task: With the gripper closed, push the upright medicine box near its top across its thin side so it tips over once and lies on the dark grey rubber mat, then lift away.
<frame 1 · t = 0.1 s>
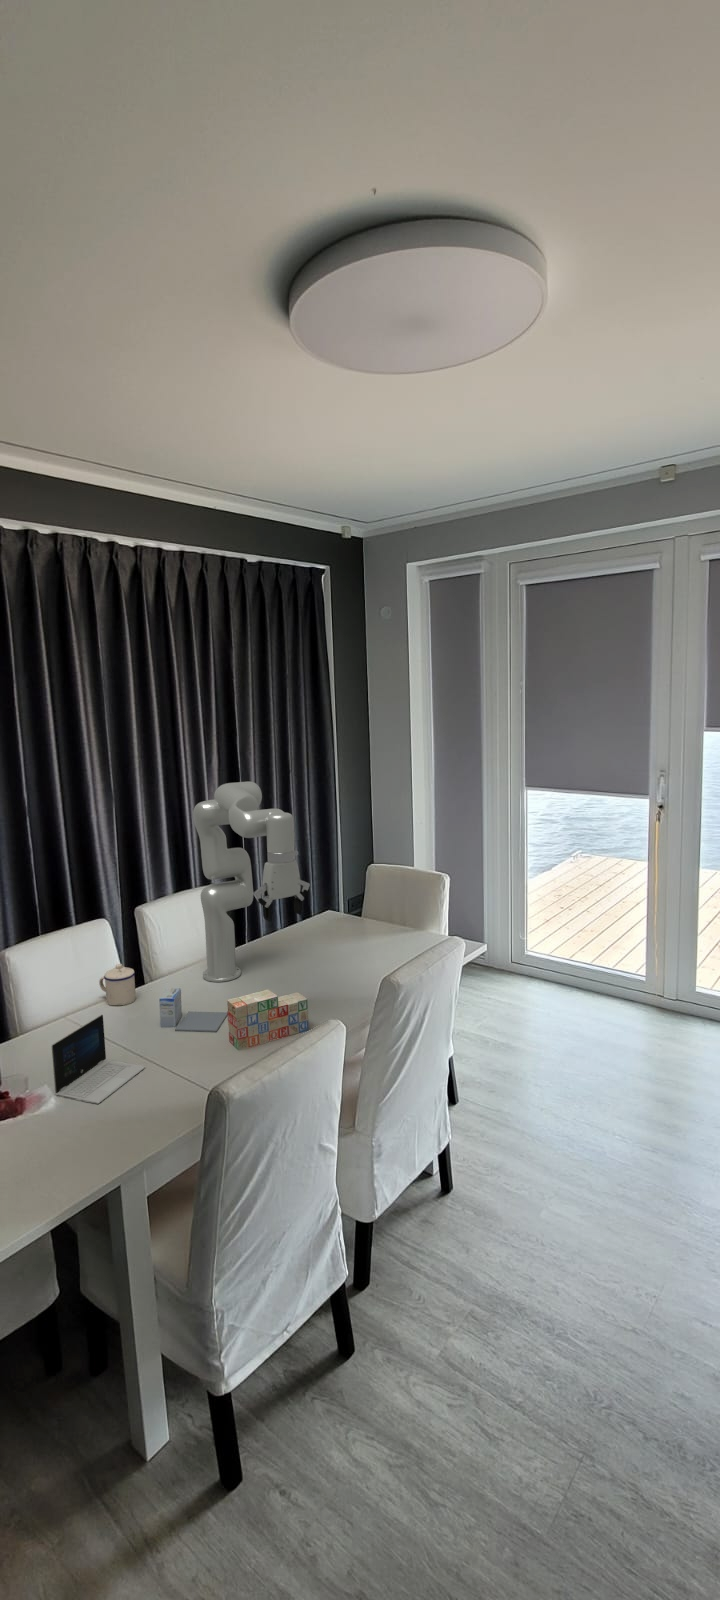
hand: (283, 916, 208), 31 cm above the table, tool pointing down, fingers open, 9 cm apart
medicine box: (171, 1022, 215), on the table
laptop: (102, 1083, 182), on the table
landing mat: (202, 1022, 214), on the table
teacup with lid: (117, 1000, 231), on the table
stack of blocks: (269, 1037, 204), on the table
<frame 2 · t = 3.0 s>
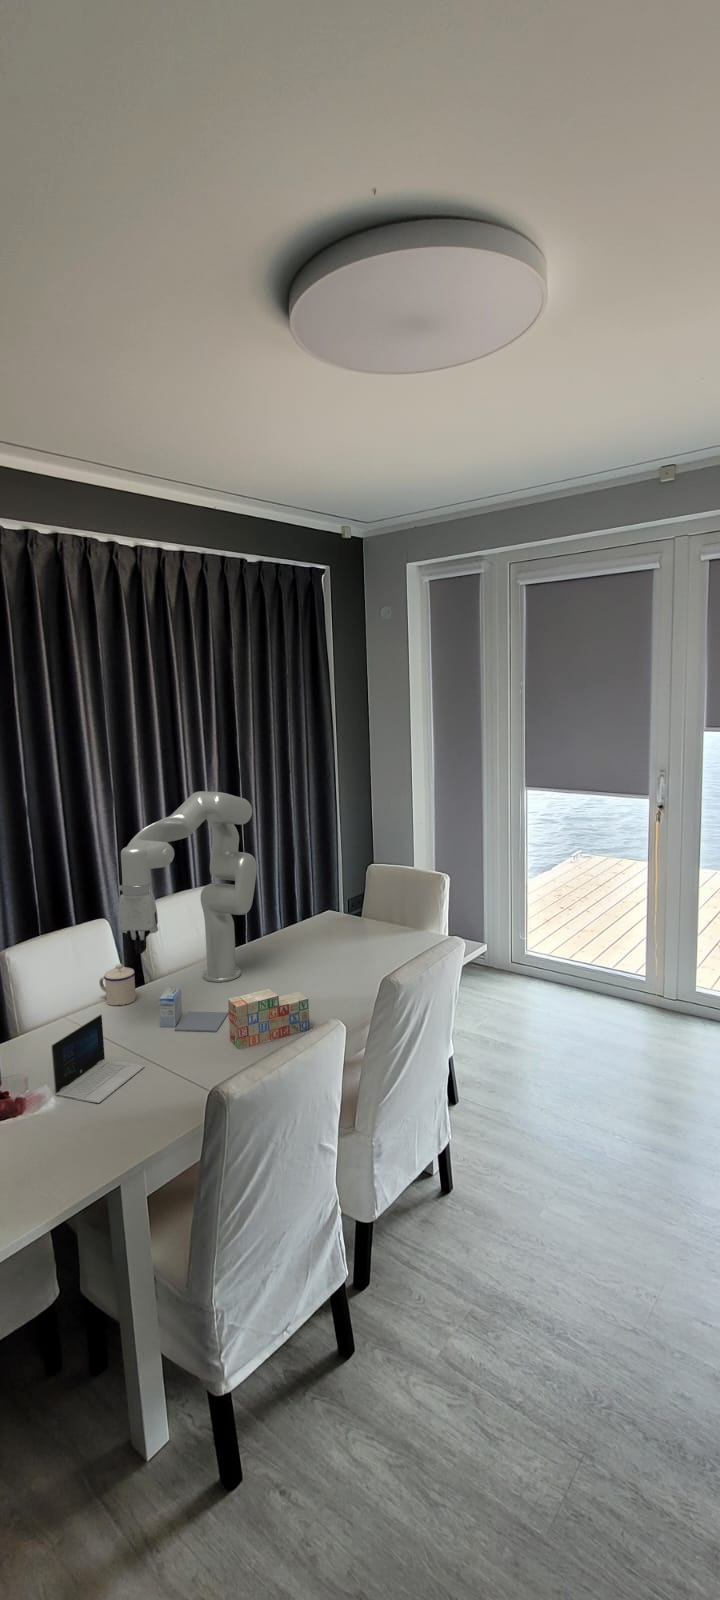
hand: (140, 951, 212), 21 cm above the table, tool pointing down, fingers closed
nothing on the table moved.
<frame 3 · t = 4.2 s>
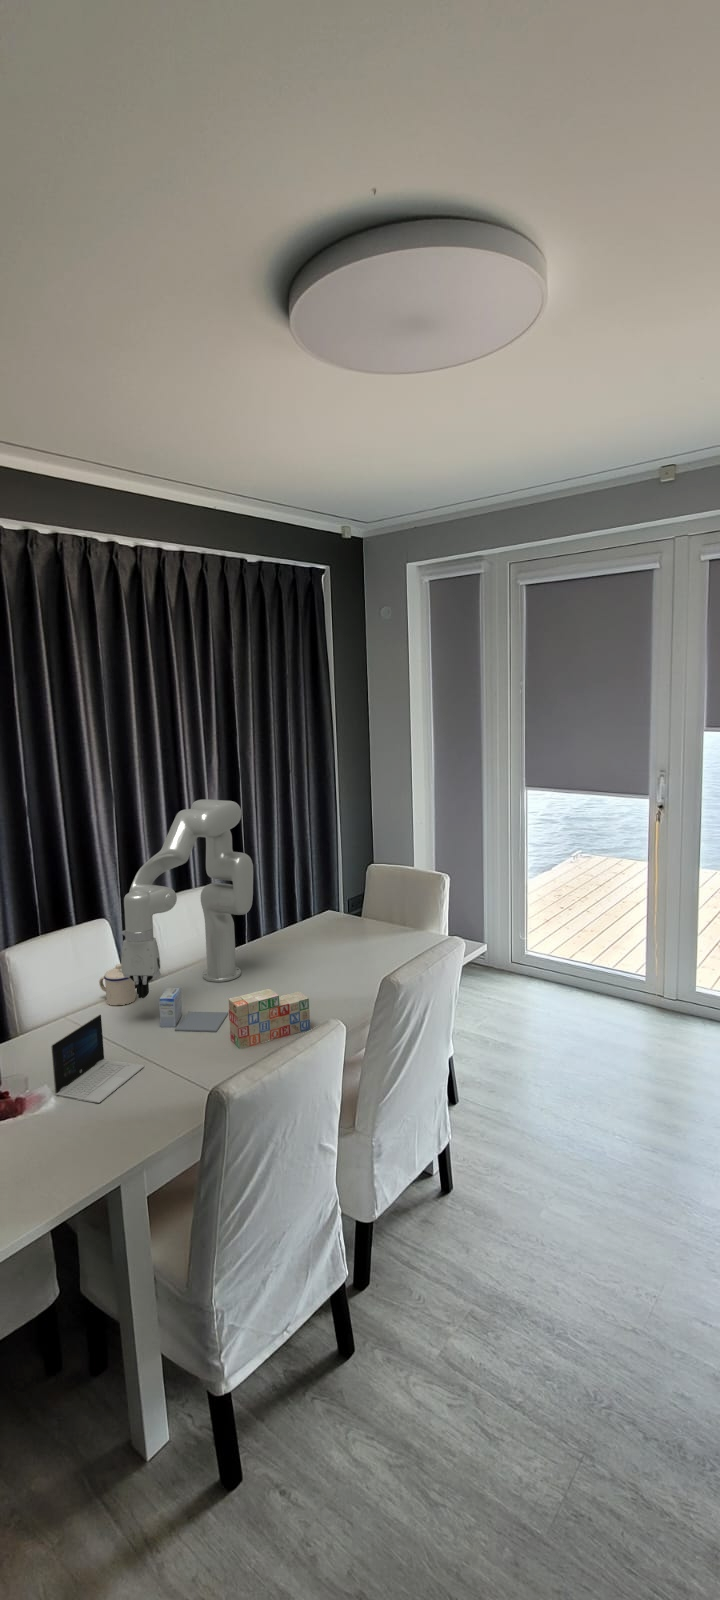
hand: (143, 996, 214), 8 cm above the table, tool pointing down, fingers closed
nothing on the table moved.
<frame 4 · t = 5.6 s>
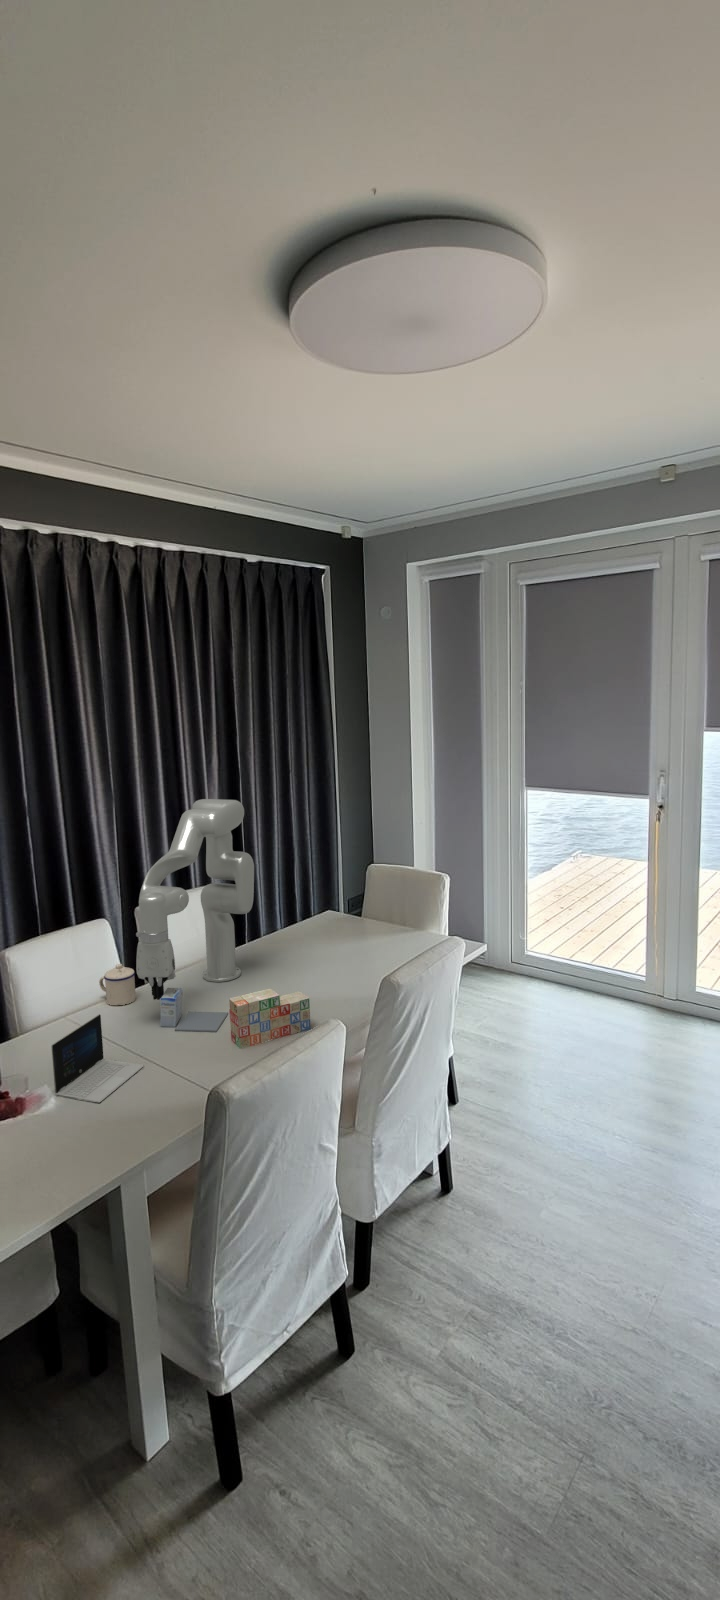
hand: (158, 997, 214), 7 cm above the table, tool pointing down, fingers closed
medicine box: (171, 1021, 215), on the table, touching gripper
everything else where it was.
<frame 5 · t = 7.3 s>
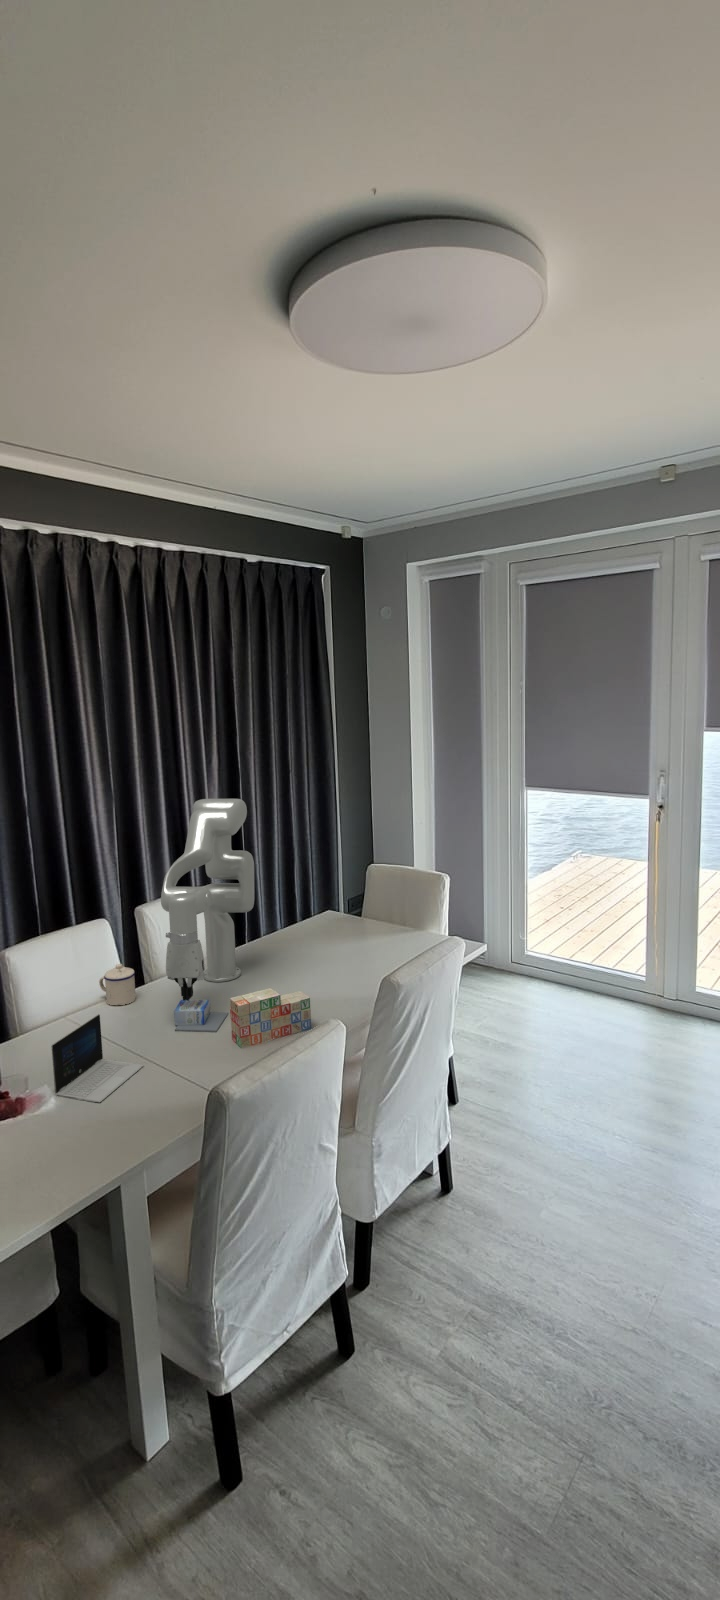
hand: (187, 998, 213), 7 cm above the table, tool pointing down, fingers closed
medicine box: (176, 1012, 214), point 3 cm above the table, touching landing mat
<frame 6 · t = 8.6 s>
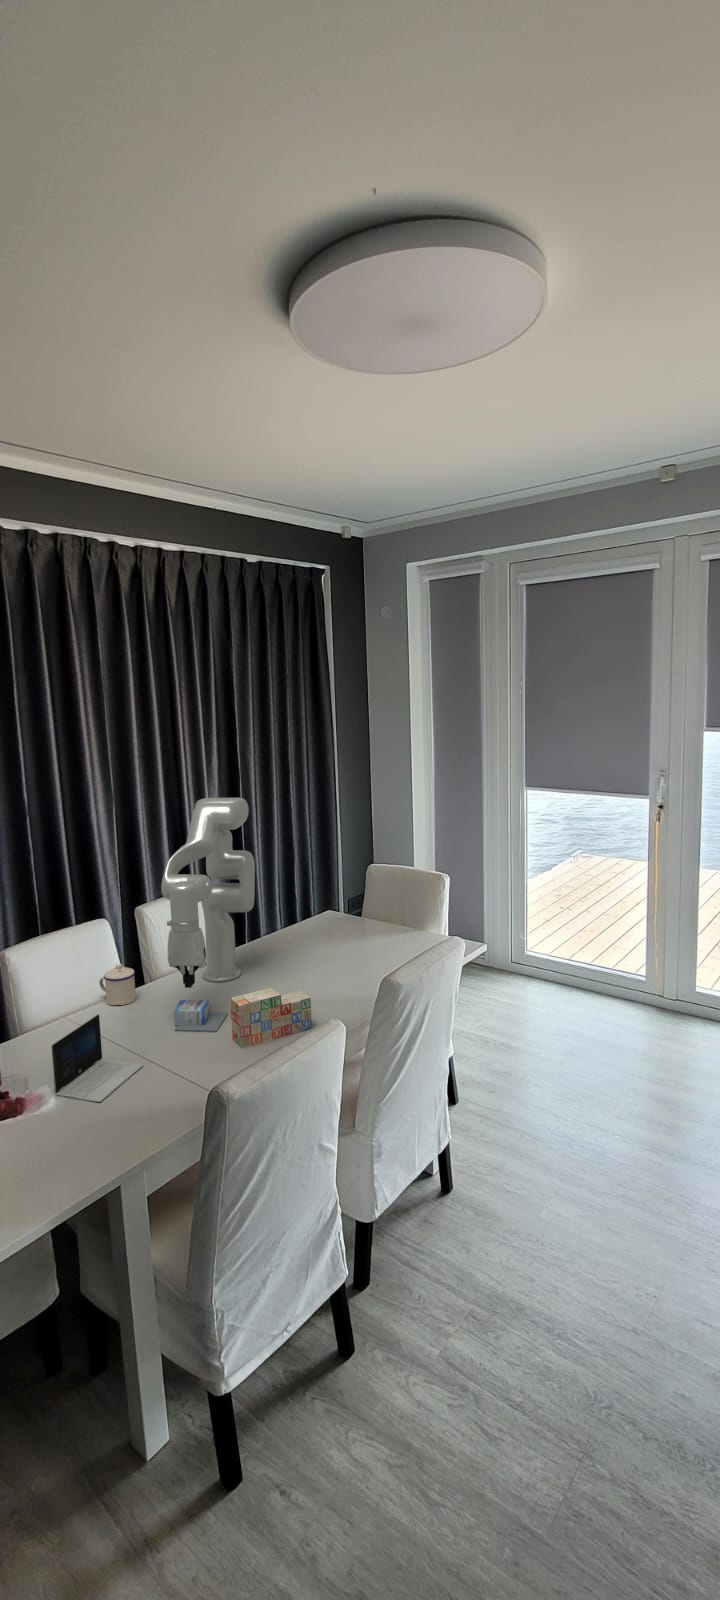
hand: (189, 985, 213), 11 cm above the table, tool pointing down, fingers closed
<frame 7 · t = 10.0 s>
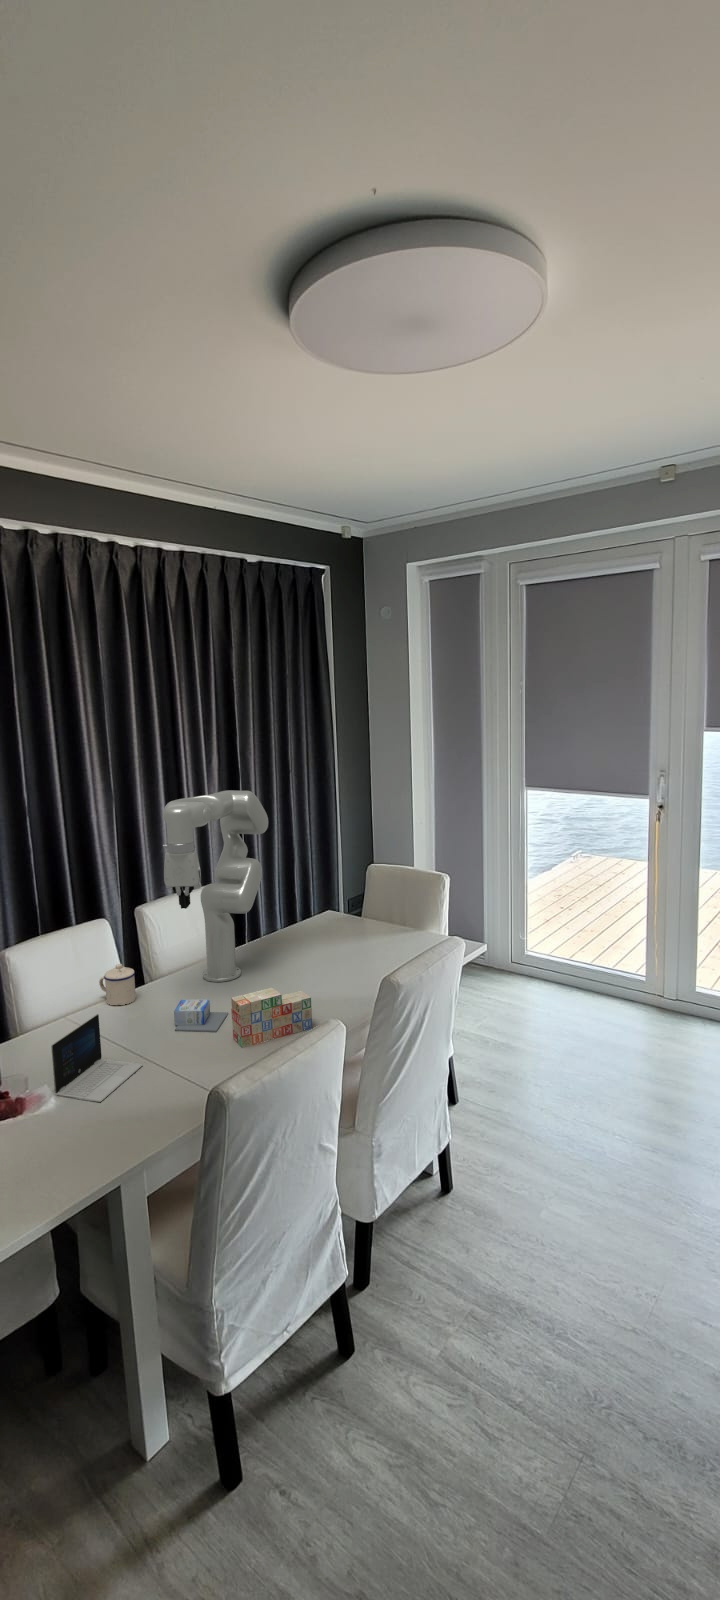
hand: (185, 907, 224), 30 cm above the table, tool pointing down, fingers closed
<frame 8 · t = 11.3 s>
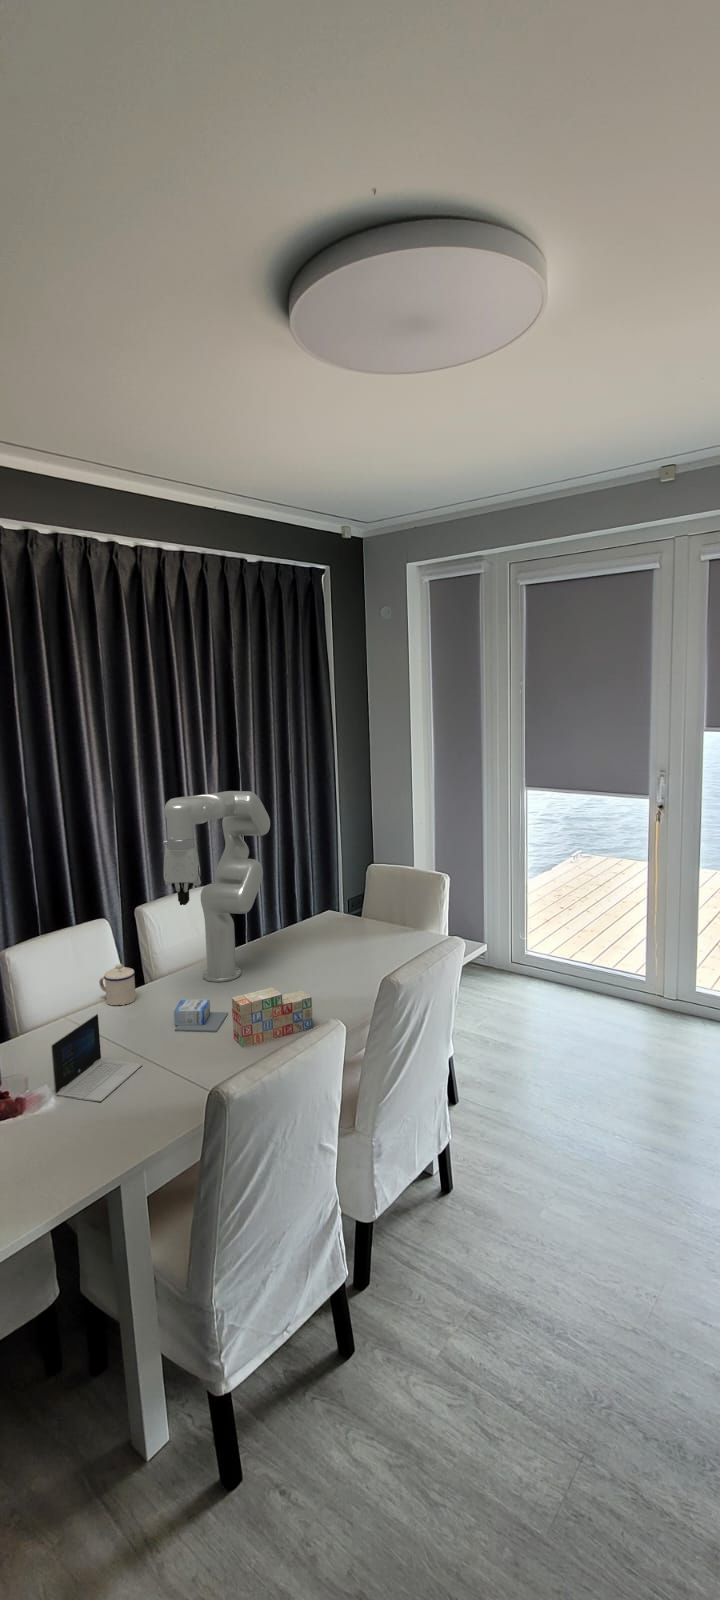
hand: (184, 903, 224), 31 cm above the table, tool pointing down, fingers closed
at the end: medicine box tilted 89°; medicine box touching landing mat; medicine box inside the target area (2.0 cm from its centre), point 2.7 cm above the table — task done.
